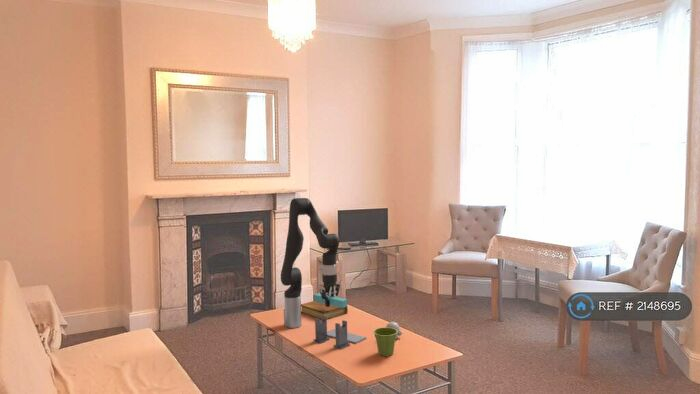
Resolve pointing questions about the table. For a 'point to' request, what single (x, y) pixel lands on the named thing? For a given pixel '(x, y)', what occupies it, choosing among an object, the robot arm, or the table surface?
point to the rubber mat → (350, 337)
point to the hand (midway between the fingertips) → (330, 305)
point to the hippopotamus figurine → (395, 326)
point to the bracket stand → (340, 330)
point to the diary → (322, 310)
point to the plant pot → (385, 340)
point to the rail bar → (331, 300)
